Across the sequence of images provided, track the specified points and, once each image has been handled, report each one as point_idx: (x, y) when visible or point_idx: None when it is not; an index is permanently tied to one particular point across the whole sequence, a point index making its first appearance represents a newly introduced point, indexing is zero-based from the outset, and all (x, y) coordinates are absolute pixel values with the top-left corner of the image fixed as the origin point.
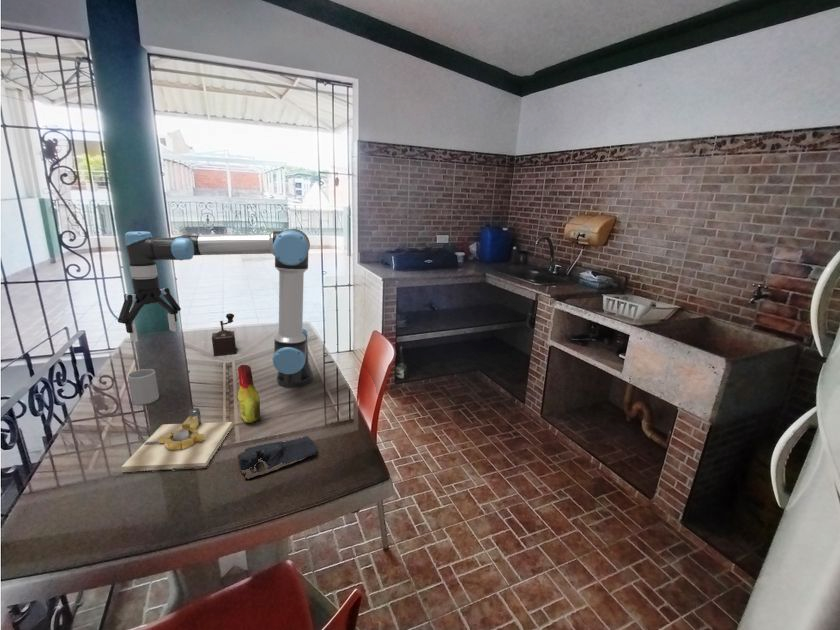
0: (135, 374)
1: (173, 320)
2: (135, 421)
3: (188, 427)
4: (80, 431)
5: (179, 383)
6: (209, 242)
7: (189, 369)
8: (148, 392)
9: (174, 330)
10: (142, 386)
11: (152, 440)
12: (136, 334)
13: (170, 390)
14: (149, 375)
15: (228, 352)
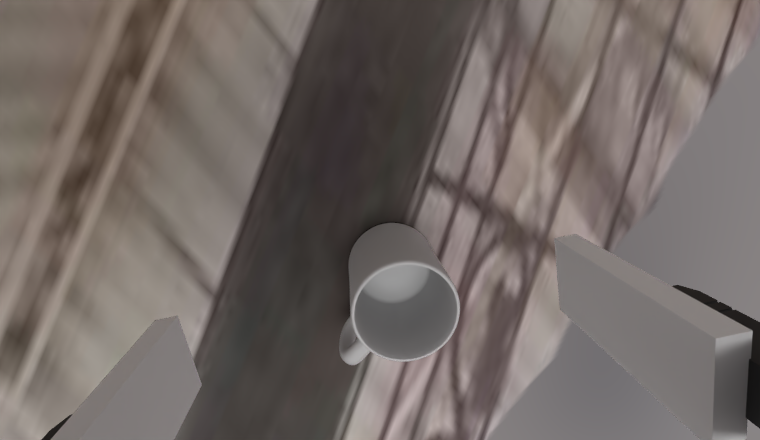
0: (413, 347)
1: (102, 401)
2: (483, 113)
3: None
4: (609, 182)
5: (249, 316)
6: None
7: None
8: (398, 234)
9: (172, 322)
10: (420, 248)
11: None
12: (602, 263)
13: (299, 277)
14: (391, 263)
15: None
